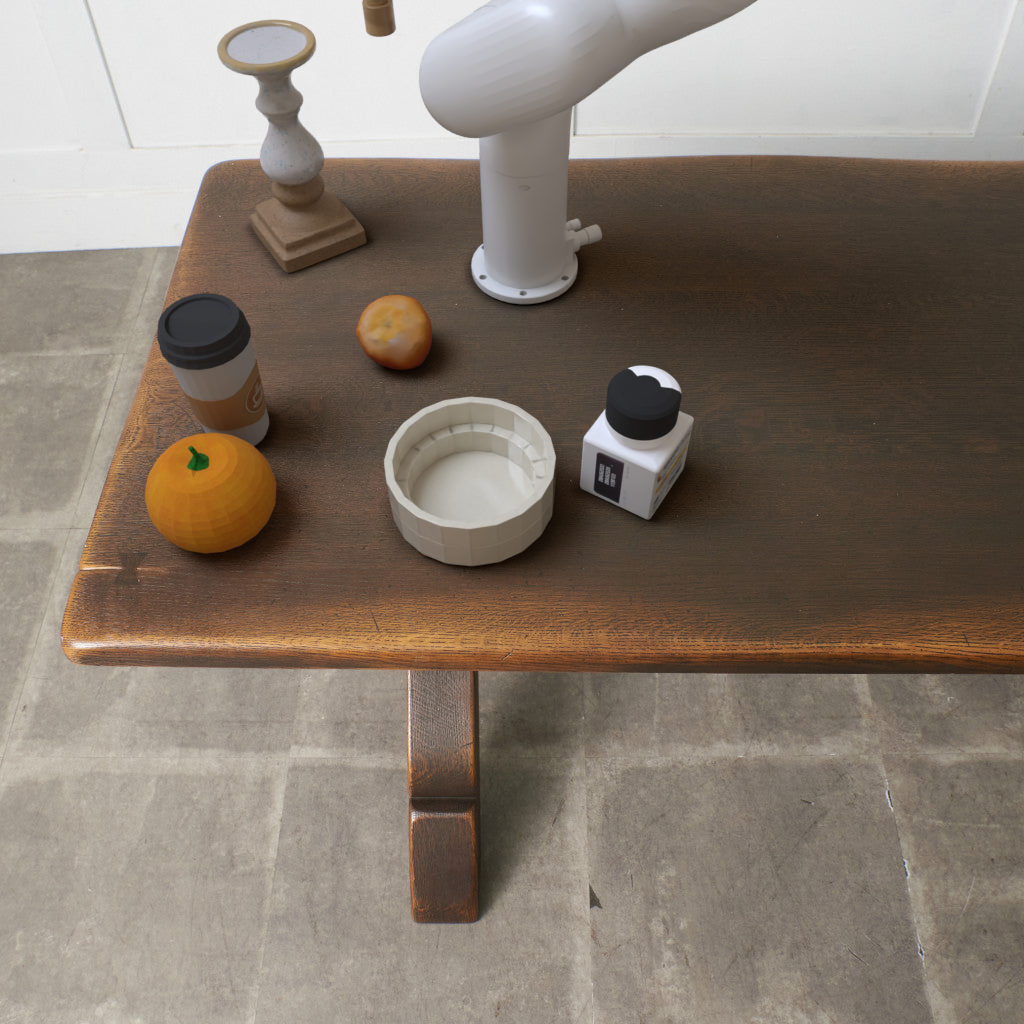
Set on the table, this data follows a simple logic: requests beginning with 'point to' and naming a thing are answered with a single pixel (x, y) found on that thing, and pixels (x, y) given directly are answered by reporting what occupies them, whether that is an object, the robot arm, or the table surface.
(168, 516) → the fruit
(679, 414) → the container
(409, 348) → the fruit
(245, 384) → the coffee cup
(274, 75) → the candle holder
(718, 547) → the table surface
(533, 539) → the bowl
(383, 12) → the wooden pestle
